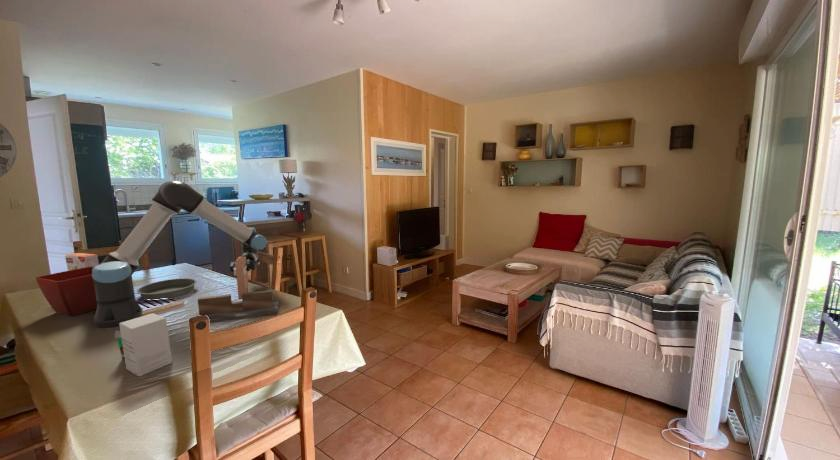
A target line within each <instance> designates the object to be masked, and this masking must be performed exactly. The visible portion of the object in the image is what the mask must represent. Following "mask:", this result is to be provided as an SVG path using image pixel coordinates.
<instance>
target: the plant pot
mask: <svg viewBox="0 0 840 460" xmlns="http://www.w3.org/2000/svg"><path fill="white" fill-rule="evenodd" d="M93 268H94V267H85V268H80V269H75V270H69V271H68V270H65V271H60V272H55V273H51V274H45V275H40V276H36V277H35V281H36V283H37V285H38V287H39V289H40V291H41V292H42V295H43V296H44V298H45V299H46V301H47V302H48V305H50V307H51V308H52V309H53V311H54V312H55V313H56V314H60V315H65V316H68V317H74V316H77V315H80V314H83V313H87V312H92V311H94V310H95V311H96V309H97V300H96V294H95V288H94V281H93V278H92V270H93Z"/></svg>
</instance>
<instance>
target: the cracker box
mask: <svg viewBox="0 0 840 460" xmlns="http://www.w3.org/2000/svg"><path fill="white" fill-rule="evenodd" d="M64 257H65V264H66V267H67V271H69V270H75V269H80V268H85V267H95V266H97V265H99V264H100V263H99V255H98V254H95V253H83V252H75V253H70V254H69V253H68V254H66V255H65V256H64Z"/></svg>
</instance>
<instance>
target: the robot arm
mask: <svg viewBox="0 0 840 460" xmlns="http://www.w3.org/2000/svg"><path fill="white" fill-rule="evenodd" d="M150 201H151V206H150V207H149V209H148V210H147V212H146V213H145V214H144V215H143V216H142V218H141V219H140V220H139V221H138V223H137V224H136V225H135V227H134V228H133V229H132V230H131V232H130V233H129V234H128V236H127V237H126V238H125V239H124V241H123V242H122V243H121V244H120V245H119V247H118V248H117V250H115V251H112V252H109V253H108V254H107V256H105V258H104V259H103V260H102V261H101V262H100V263H99V265H97V266H95V267H94V268H93V270H92V278H93V281H94V288H95V294H96V300H97V309H95V313H94V317H93V325H94V327H95V328H109V327H110V328H111V327H112V328H113V327H117V326H120V325H119V323H121V322H125V321H128V320H132V319H135V318H138V317H142V316H144V314H142V313H143V309H142V308H141V306H140V304H139V303H138V301H137V300H136V295H135V290H134V289H135V288H134V282H133V274H134V273H135V272H136V271H137V269H138V268H139V266H140V264H139V261H140V259H141V257H142V256H143V254H145V251H147V249H148V248H149V247H150V245H151V244H152V243H153V242H154V240H155V239H156V237H157V236H158V235H159V234H160V232H162V229H163V228H164V227H165V225H166V224H167V223H168V222H169V220H170V219H171V218H172V217H173V216H176V215H178V214H179V213H180V212H181V211H185V212H186V213H189V214H191V215H192V214H194V215H196V216H198V217H199V218H201V219H203V220H204V221H206V222H208V223H210V224H211V225H213V226H215V227H216V228H218V229H220V230H222V231H223V232H225V233H227V234H228V235H230V236H232V237H234V238H235V239H236V240H238V241H240V242H241V252H242V253H241V256H240V257H244V256H246V264H247V265H245V267H244V268H243V275H245V274H246V273H247V274H248V272H250V271H254V270H256V269H257V268H258V267H259V266H261V262H260V259H259V258H260V257H259V256H260V253H259V250H260V251H261V250H264V248H266V247H267V244H268V241H267V240H268V239H267V238H266V237H265V236H264V235H262V234H260V233H258V232H257V229H256V228H255V227H248V226H247V225H245V224H244V223H242V222H241V221H239V220H237V219H236V218H235V217H233V216H231V215H229V214H228V213H227V212H225V211H223V210H222V209H220V208H219V207H217V206H215V205H213V204H212V203H211V202H209V201H207V200H206V198H205V196H203V194H201V193H199V192H198V191H196V190H195V189H194V188H193V187H192V186H190V185H189V184H188V183H185V182H183V181H178V180H169V181H165V182H164V183H162V184H161V185H160V187H159V188H158V189H157V192H156V194H155V195H154V196H153V197H152V198H151V200H150ZM229 263H230V265H229V270H230V272H232V273H233V275H234V276H237V275H236V263H235V261H230V262H229Z"/></svg>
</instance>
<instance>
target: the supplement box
mask: <svg viewBox="0 0 840 460" xmlns="http://www.w3.org/2000/svg"><path fill="white" fill-rule="evenodd" d="M118 326H119V331H120V332H121V338H122V344H123V350H124V356H125V359H124V362H125V363H124V364H125V369H126V370H128V371H129V372H131V373H132V374H134V375H135V376H137V377H142V376H144V375H147V374H148V373H151V372H154V371H157V370H158V369H161V368H163V367H166V366H168V365H170V364H172V363H173V359H172V350H171V344H170V337H169V330H168V323H167V318H166V317H163V316H161V315H158V314H156V313H154V312H153V313H149V314H146V315H143V316H142V317H138V318H135V319H132V320H128V321H125V322H121V323H119V325H118Z"/></svg>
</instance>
